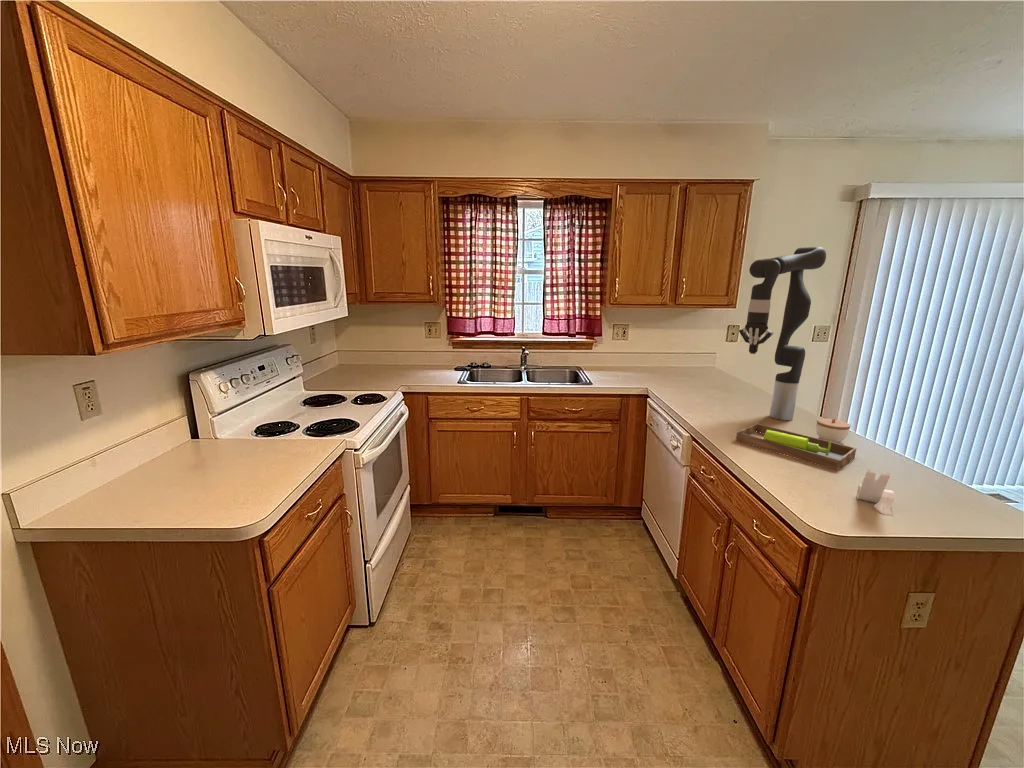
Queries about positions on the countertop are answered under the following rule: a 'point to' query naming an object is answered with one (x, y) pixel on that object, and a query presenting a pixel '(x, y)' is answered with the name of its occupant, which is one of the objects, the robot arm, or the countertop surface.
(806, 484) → the countertop surface
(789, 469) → the countertop surface
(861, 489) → the plastic part
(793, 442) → the soap dispenser
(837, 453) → the wooden tray
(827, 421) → the lidded jar
